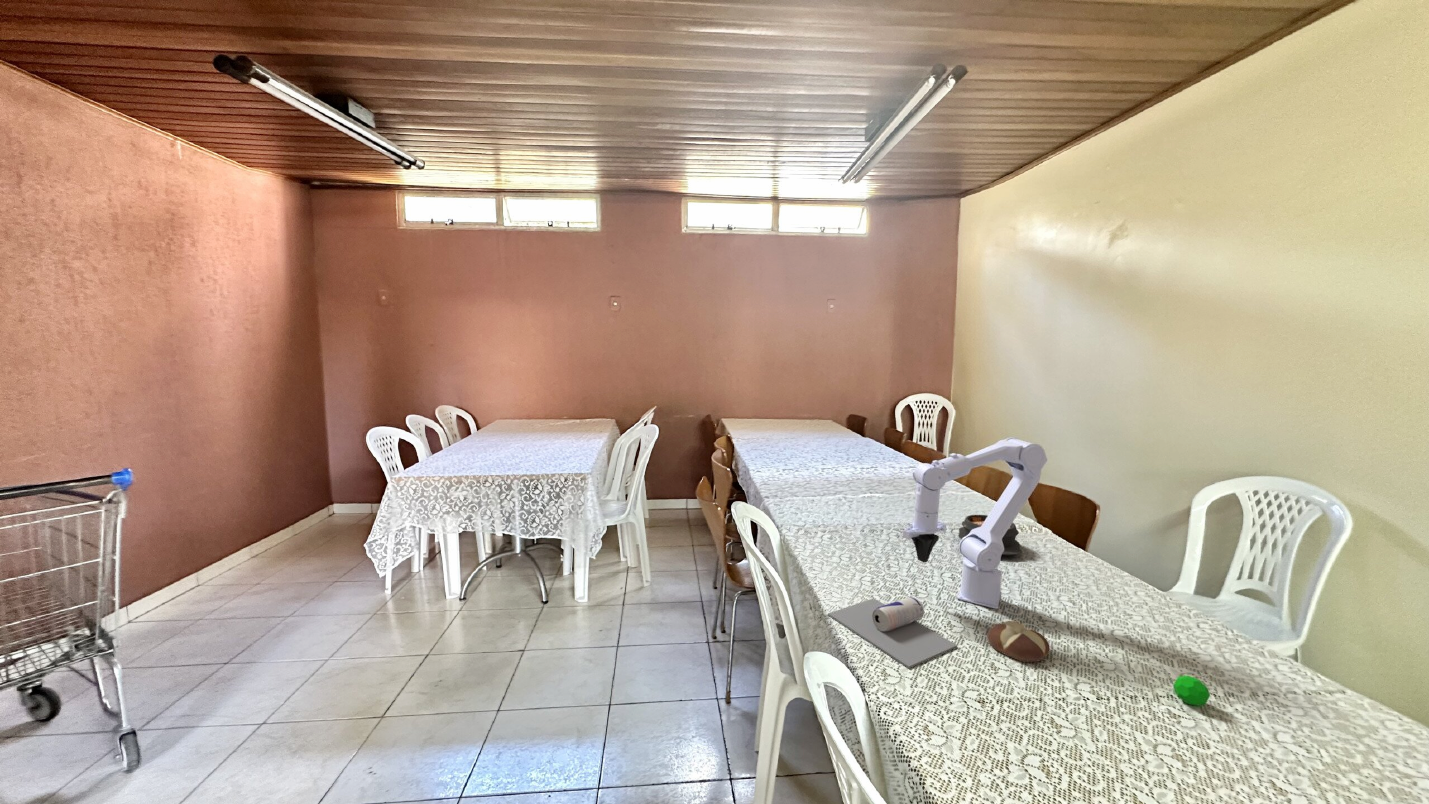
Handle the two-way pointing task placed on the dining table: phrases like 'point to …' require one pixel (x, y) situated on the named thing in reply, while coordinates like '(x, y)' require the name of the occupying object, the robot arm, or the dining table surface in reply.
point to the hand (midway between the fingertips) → (922, 560)
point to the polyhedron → (1191, 690)
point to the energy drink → (898, 614)
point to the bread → (1018, 641)
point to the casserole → (1008, 539)
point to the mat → (893, 635)
